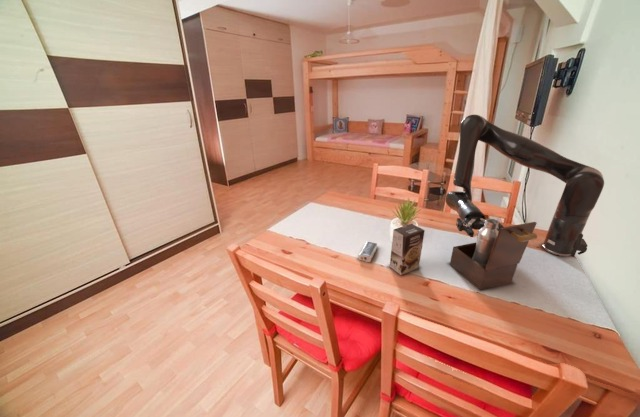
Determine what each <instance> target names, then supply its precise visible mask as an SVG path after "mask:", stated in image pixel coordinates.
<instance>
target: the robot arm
mask: <svg viewBox="0 0 640 417" xmlns="http://www.w3.org/2000/svg"><path fill="white" fill-rule="evenodd" d="M479 142H482V143H484V144H486V145H489V146H490V147H492V148H493V149H494V150H496V151H497V152H498V153H500V154H501V155H503V156H504V157H506V158H507V159H508V160H511V161H513V162H515V163H517V164H519V165H521V166H523V167H526V168H529V169H531V170H536V171H540V172H543V173H546V174H548V175H551V176H553V177H555V178H556V179H557V180H560V181H561V182H562V183H565V186H564V188H563V191H562V194H561V196H560V198H559V200H558V203H557V206H556V209H555V210H554V213H553V217H552V219H551V221H550V225H549V228H548V230H547V233H546V234H545V238H544V241H543V243H542V245H541V246H542V249H543V250H544V251H546V252H548V253H549V254H552V255H555V256H559V257H564V258H565V257H567V258H568V257H572V258H574V257H575V256H576V253H577V255H579V256H580V255H582V254H584V253H586V252H587V251H588V243H587V242H586V240H585V238H584V234H583V231H584V230H585V227H586V225H587V223H588V220H589V217H590V216H591V214H592V211H593V210H594V209H595V207H596V205H597V203H598V200H599V198H600V196H601V194H602V192H603V190H604V186H605V179H604V176H603V174H602V172H601V171H600V170H599V169H598V168H595V167H593V166H589V165H586V164H584V163H581V162H578V161H575V160H573V159H571V158H567V157H565V156H564V155H561V154H560V153H558V152H556V151H555V150H553V149H551V148H549V147H547V146H545V145H544V144H541V143H539V142H537V141H535V140H533V139H531V138H528V137H526V136H524V135H521V134H519V133H515V132H512V131H509V130H506V129H503V128H501V127H499V126H498V125H496V124H494V123H492V122H491V121H489V120H487V119H486V118H485V117H483V116H481V115H479V114H469V115H467V116H466V117H464V118H463V119H462V121H461V122H460V124H459V147H458V155H457V161H456V165H455V169H454V176H453V181H452V184H453V186H455V187H459V188H461V189H462V191H457V190H451V191H449V192H447V193H446V195H445V198H444V199H445V203H446V205H447V206H448V207H449V208H451V210H453V211H454V212H456V213H457V215H458V217H457V218H456V221H455V226H456V228H457V230H458V231H459V232H463V231H464V233H466V235H467V236H469V237H470V238H474V236H475V231H477V230H478V231H479V230H480V229H481V228H482V227H484V223H485V221H486V219H487V218H486V216H485V214H484V213H483V212H482V210H481V209H480V208H479V207H478V206H477V205H475V203H473V195H472V180H473V175H474V171H475V160H476V158H475V157H476V151H477V146H478V143H479ZM503 227H504V225H502V224H501V223H500V222H499V224H498V228H497V230H498V232H499V229H500V228H503ZM474 230H475V231H474ZM577 251H578V252H577Z"/></svg>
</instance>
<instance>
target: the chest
mask: <svg viewBox="0 0 640 417" xmlns="http://www.w3.org/2000/svg"><path fill="white" fill-rule="evenodd" d="M476 243H477V241H475V242H471V243H466V244H461V245H456V246H453V247H452V251H451V255H450V262H449V265H450V266H451V267H452V268H453V269H455V271H457V272H458V273H459V274H460V275H462V276H463V277H464V278H465V279H467V280H468V282H470V283H471V284H472V285H474V287H476V288H477V289H478V290H479V291H482V290H486V289H490V288H494V287H500V286H503V285H504V286H505V285H508V284H511V283H513V280H514V277H515V273H516V271H517V267H518V264H514V265H510V266H505V267H501V268H496V269H491V270H485V268H483V267H482V266H481V265H479V264H478V263H477V262H475V261H474V260H473V259H472V257H473V255H474V252H475V249H476Z"/></svg>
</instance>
